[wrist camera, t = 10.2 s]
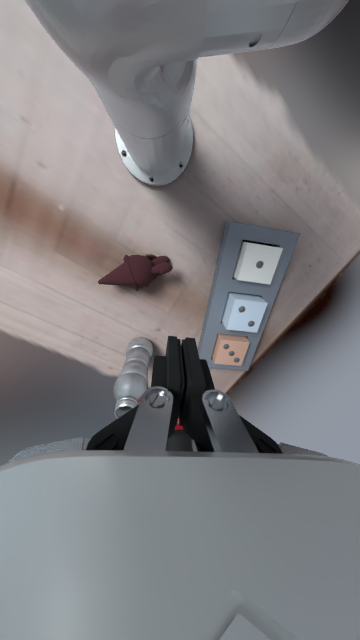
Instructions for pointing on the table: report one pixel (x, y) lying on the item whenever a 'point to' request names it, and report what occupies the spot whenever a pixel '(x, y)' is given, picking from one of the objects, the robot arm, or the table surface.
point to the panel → (242, 287)
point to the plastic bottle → (133, 376)
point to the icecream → (137, 271)
